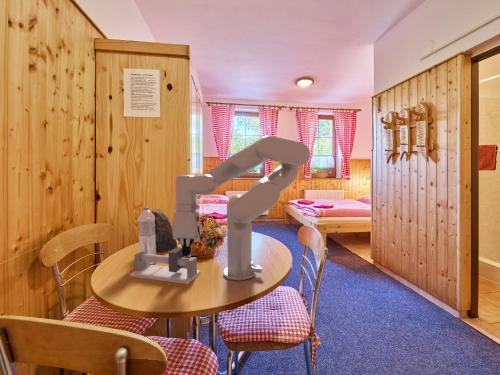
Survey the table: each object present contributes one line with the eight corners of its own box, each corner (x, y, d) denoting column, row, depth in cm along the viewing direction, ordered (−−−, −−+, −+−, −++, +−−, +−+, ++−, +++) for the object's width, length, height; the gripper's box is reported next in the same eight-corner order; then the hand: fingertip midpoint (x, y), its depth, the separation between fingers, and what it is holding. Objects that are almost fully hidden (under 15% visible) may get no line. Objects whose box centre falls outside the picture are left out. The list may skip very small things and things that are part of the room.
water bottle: (150, 267, 105) (148, 208, 103) (136, 265, 106) (134, 208, 104) (159, 261, 112) (157, 206, 110) (145, 260, 113) (144, 205, 111)
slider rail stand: (200, 272, 100) (200, 254, 99) (188, 284, 90) (187, 263, 89) (146, 266, 106) (146, 249, 105) (129, 276, 96) (129, 257, 96)
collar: (184, 266, 99) (184, 247, 98) (176, 272, 93) (175, 252, 92) (177, 265, 100) (177, 247, 99) (168, 271, 94) (168, 252, 93)
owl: (158, 253, 121) (156, 213, 120) (142, 249, 128) (141, 210, 127) (178, 247, 132) (177, 209, 130) (163, 242, 139) (162, 207, 137)
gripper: (208, 207, 95) (208, 253, 97) (173, 205, 99) (174, 250, 100) (200, 210, 88) (200, 260, 89) (162, 208, 92) (163, 256, 93)
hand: (186, 255), depth 95 cm, fingers closed
